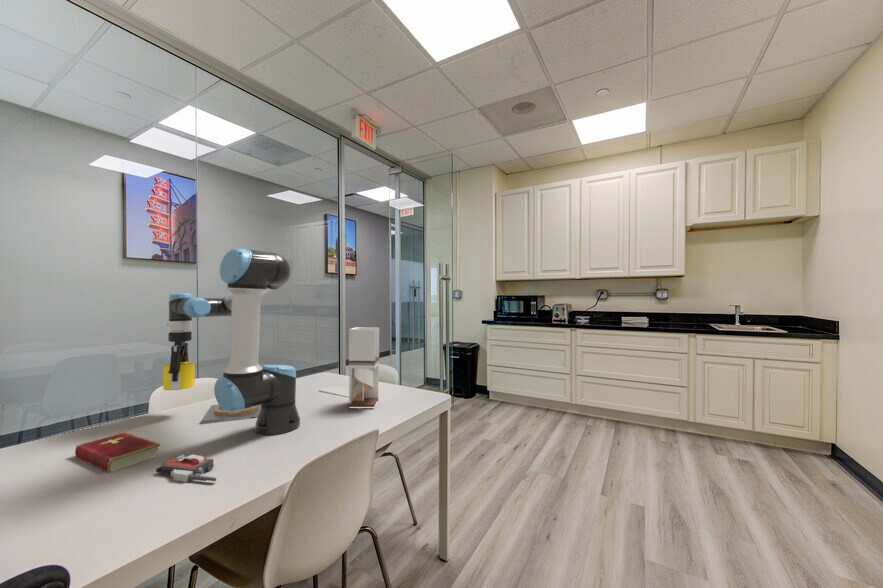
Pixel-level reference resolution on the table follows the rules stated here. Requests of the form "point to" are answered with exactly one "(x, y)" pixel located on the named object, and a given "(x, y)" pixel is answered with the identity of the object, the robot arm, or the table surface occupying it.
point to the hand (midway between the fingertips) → (179, 386)
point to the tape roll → (185, 376)
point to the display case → (363, 366)
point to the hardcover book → (117, 451)
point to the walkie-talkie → (187, 468)
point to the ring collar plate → (229, 414)
